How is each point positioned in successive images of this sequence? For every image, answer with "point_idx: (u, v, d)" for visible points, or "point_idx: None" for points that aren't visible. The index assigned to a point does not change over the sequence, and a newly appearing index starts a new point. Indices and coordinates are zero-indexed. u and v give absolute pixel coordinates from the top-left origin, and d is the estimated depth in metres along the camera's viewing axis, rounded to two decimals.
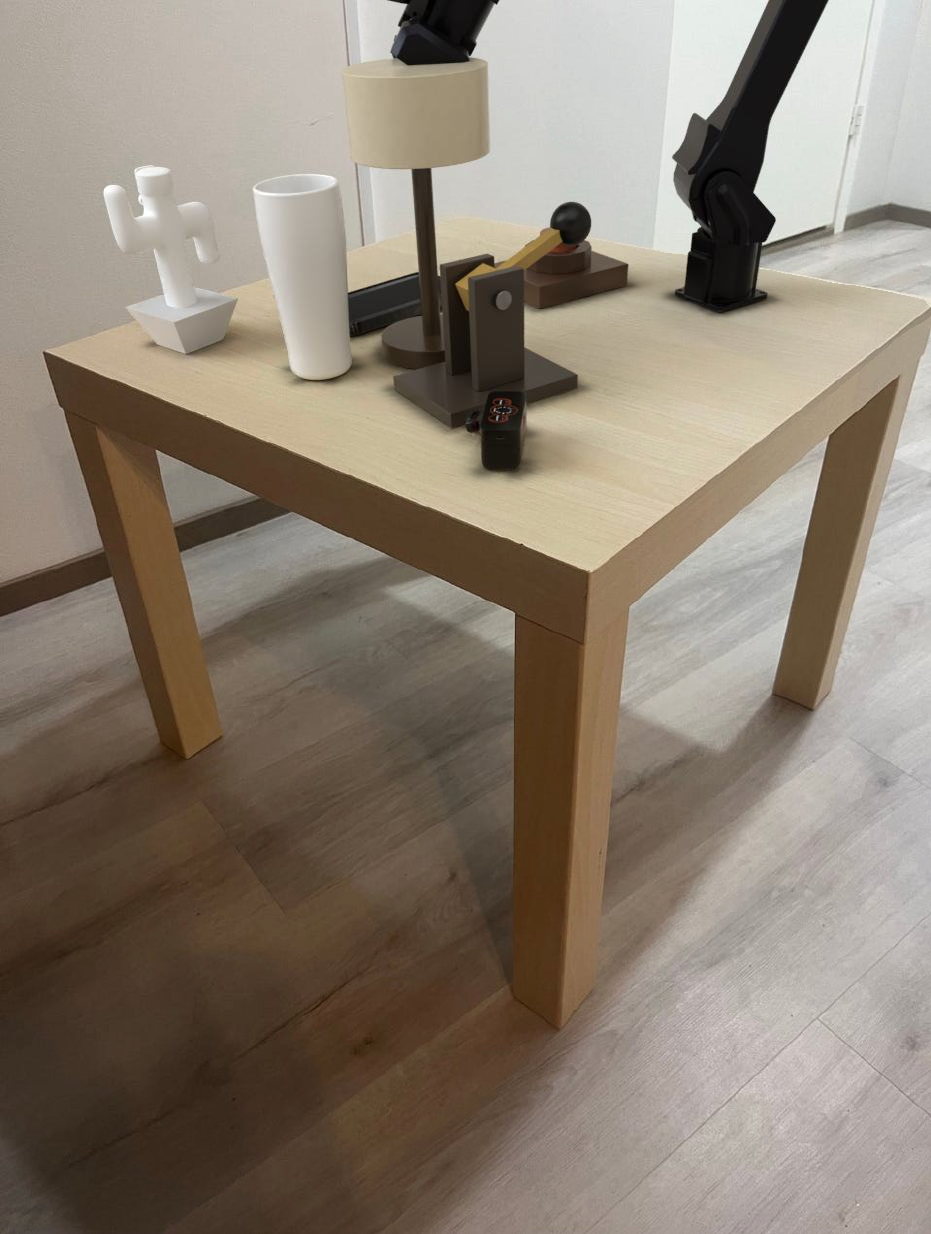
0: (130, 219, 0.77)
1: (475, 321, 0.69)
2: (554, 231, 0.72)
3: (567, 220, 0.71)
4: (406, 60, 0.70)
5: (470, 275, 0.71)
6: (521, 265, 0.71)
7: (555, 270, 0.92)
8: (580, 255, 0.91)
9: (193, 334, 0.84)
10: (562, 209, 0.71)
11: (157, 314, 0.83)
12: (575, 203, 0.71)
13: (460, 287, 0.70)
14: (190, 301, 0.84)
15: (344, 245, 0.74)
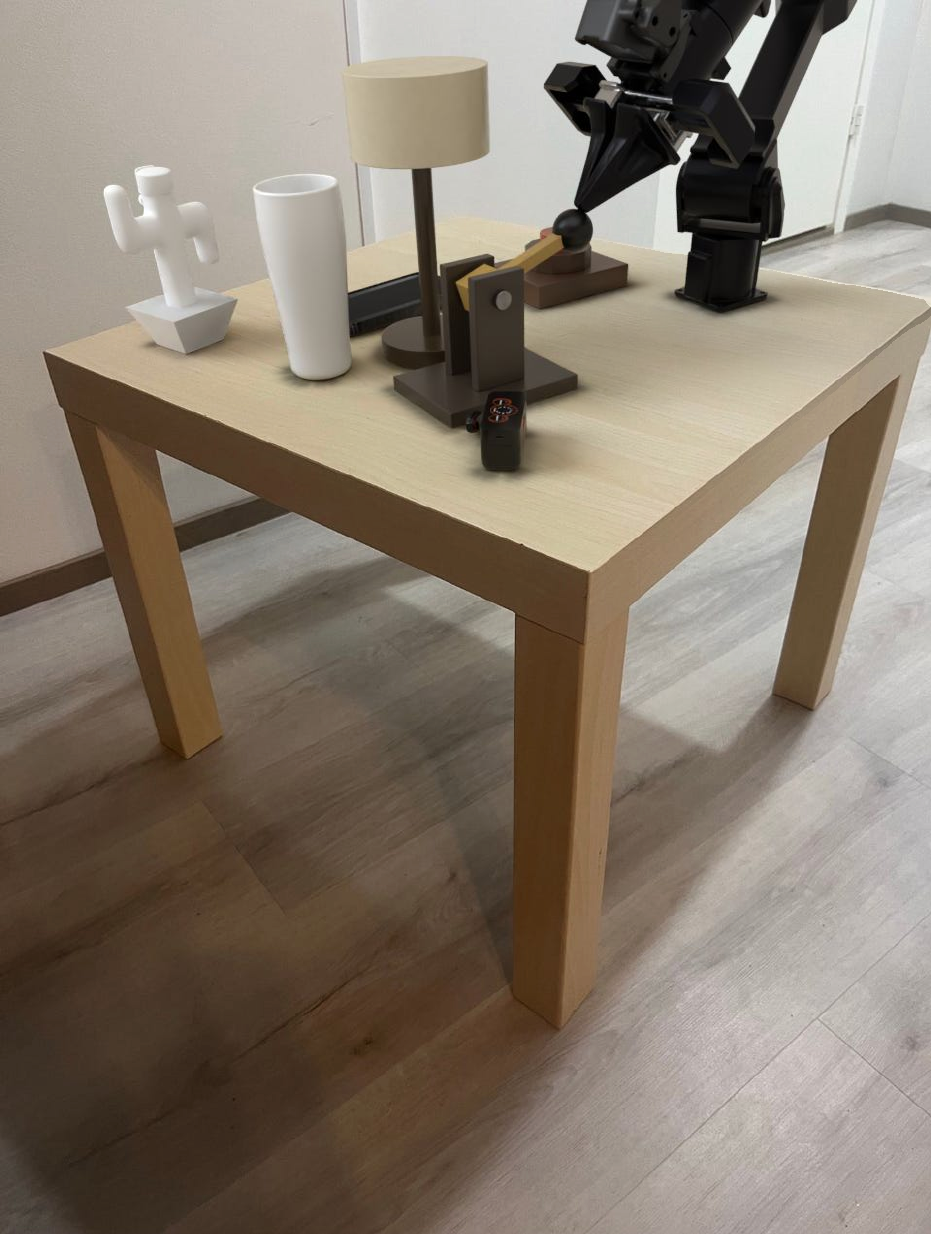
0: (130, 219, 0.77)
1: (475, 321, 0.69)
2: (556, 236, 0.72)
3: (569, 226, 0.71)
4: (714, 120, 0.63)
5: (471, 274, 0.71)
6: None
7: (555, 270, 0.92)
8: (580, 255, 0.91)
9: (193, 334, 0.84)
10: (565, 215, 0.72)
11: (157, 314, 0.83)
12: (578, 210, 0.72)
13: (461, 286, 0.70)
14: (190, 301, 0.84)
15: (344, 245, 0.74)
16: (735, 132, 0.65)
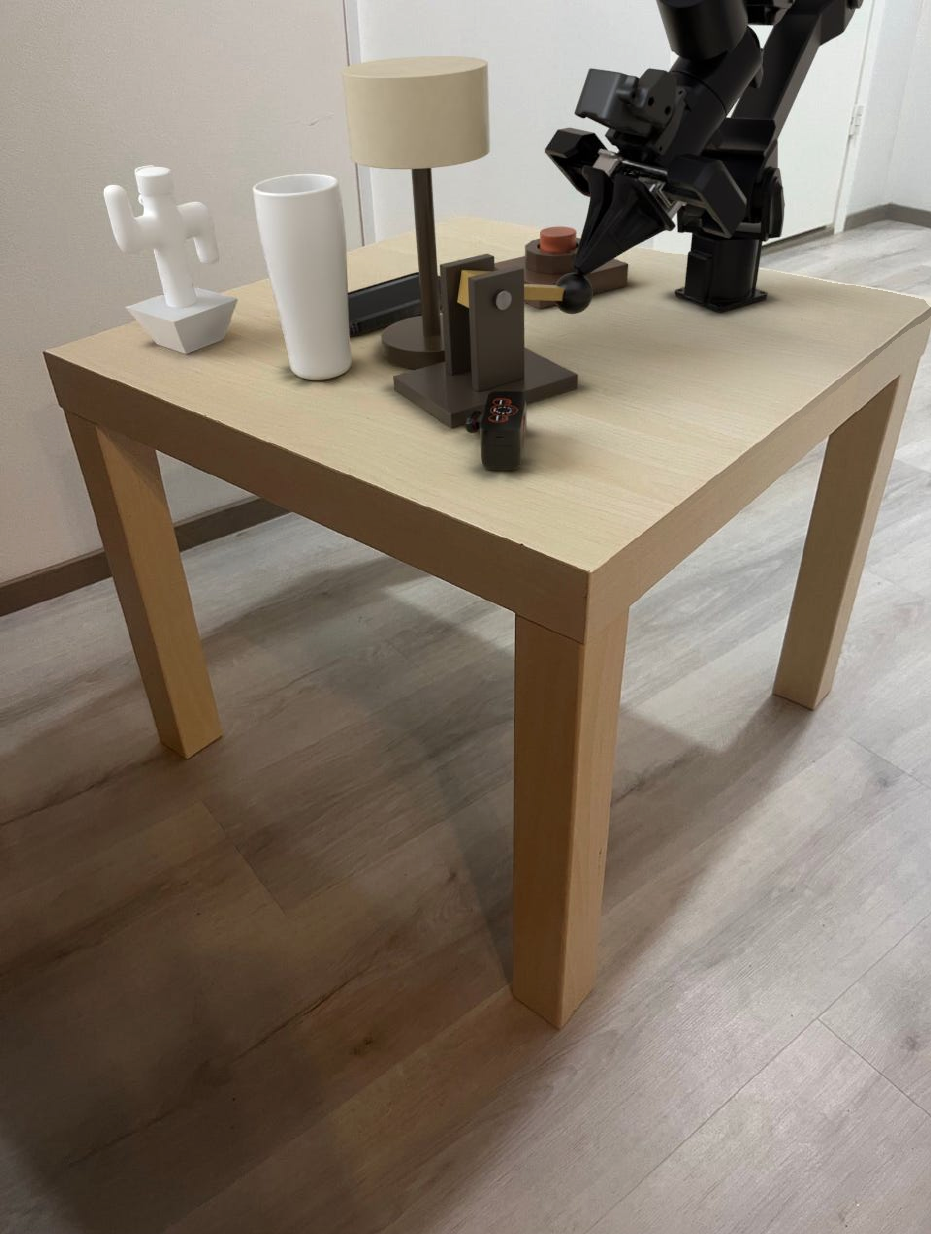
0: (130, 219, 0.77)
1: (475, 321, 0.69)
2: (560, 287, 0.75)
3: (575, 283, 0.74)
4: (707, 196, 0.66)
5: (478, 271, 0.71)
6: None
7: (555, 270, 0.92)
8: None
9: (193, 334, 0.84)
10: (574, 274, 0.75)
11: (157, 314, 0.83)
12: None
13: (467, 274, 0.70)
14: (190, 301, 0.84)
15: (344, 245, 0.74)
16: (727, 206, 0.68)
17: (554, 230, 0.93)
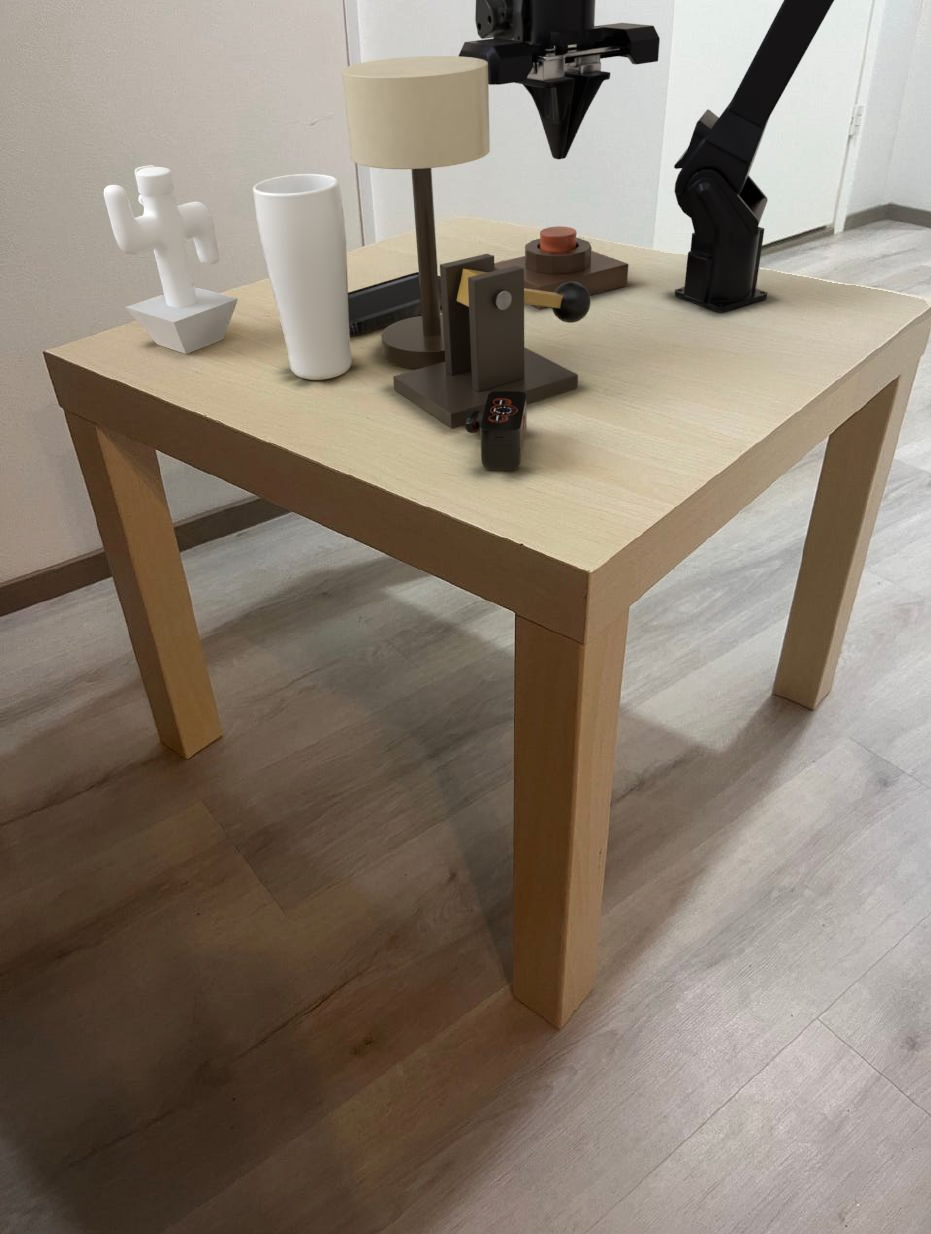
0: (130, 219, 0.77)
1: (475, 321, 0.69)
2: (558, 294, 0.75)
3: (574, 291, 0.75)
4: None
5: (479, 271, 0.71)
6: None
7: (555, 270, 0.92)
8: (580, 255, 0.91)
9: (193, 334, 0.84)
10: (573, 282, 0.75)
11: (157, 314, 0.83)
12: (584, 287, 0.76)
13: (468, 272, 0.70)
14: (190, 301, 0.84)
15: (344, 245, 0.74)
16: None
17: (554, 230, 0.93)
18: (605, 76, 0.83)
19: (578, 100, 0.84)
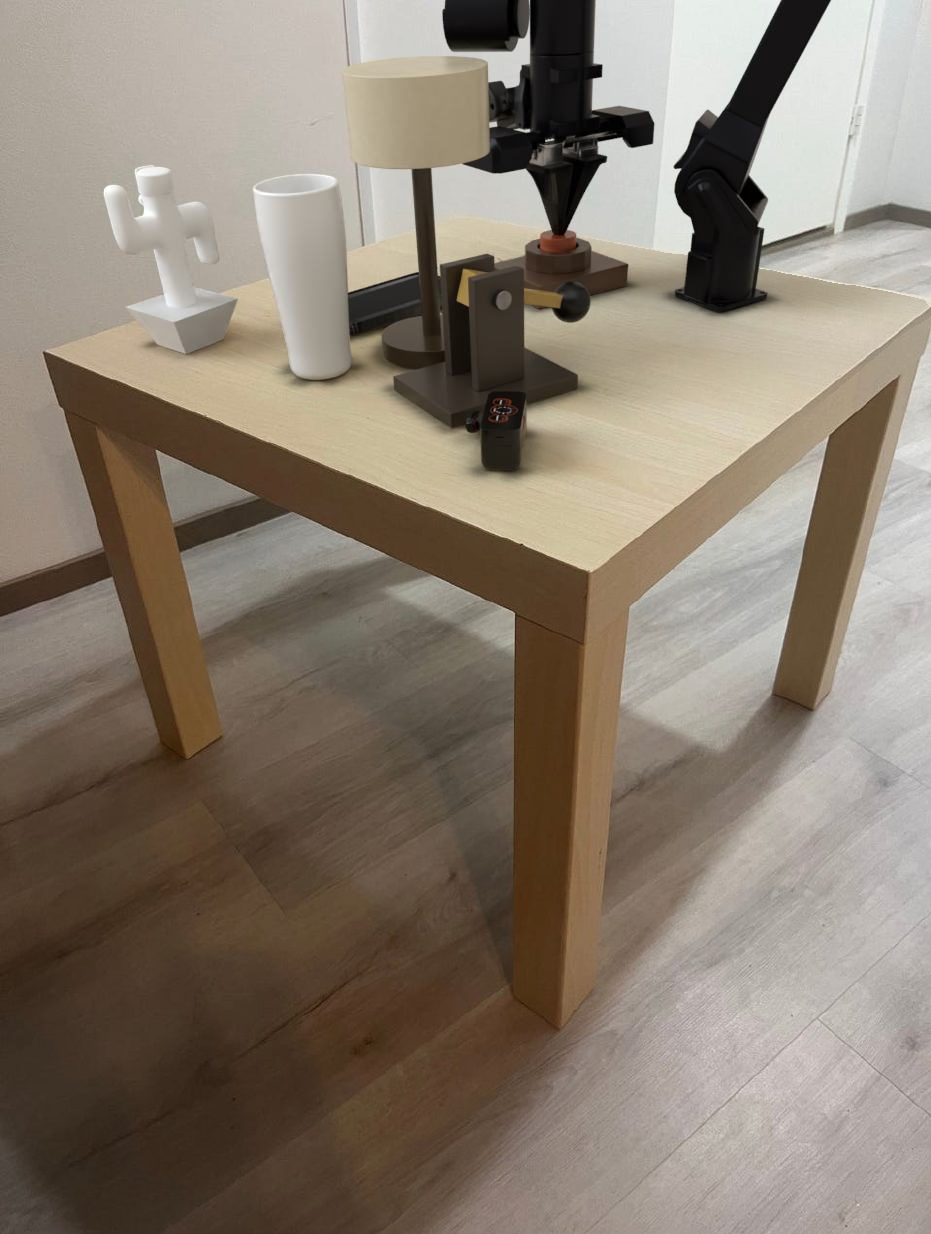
0: (130, 219, 0.77)
1: (475, 321, 0.69)
2: (558, 294, 0.75)
3: (574, 291, 0.75)
4: None
5: (479, 271, 0.71)
6: None
7: (555, 270, 0.92)
8: (580, 255, 0.91)
9: (193, 334, 0.84)
10: (573, 282, 0.75)
11: (157, 314, 0.83)
12: (584, 287, 0.76)
13: (468, 272, 0.70)
14: (190, 301, 0.84)
15: (344, 245, 0.74)
16: None
17: None
18: (602, 160, 0.88)
19: (576, 182, 0.88)
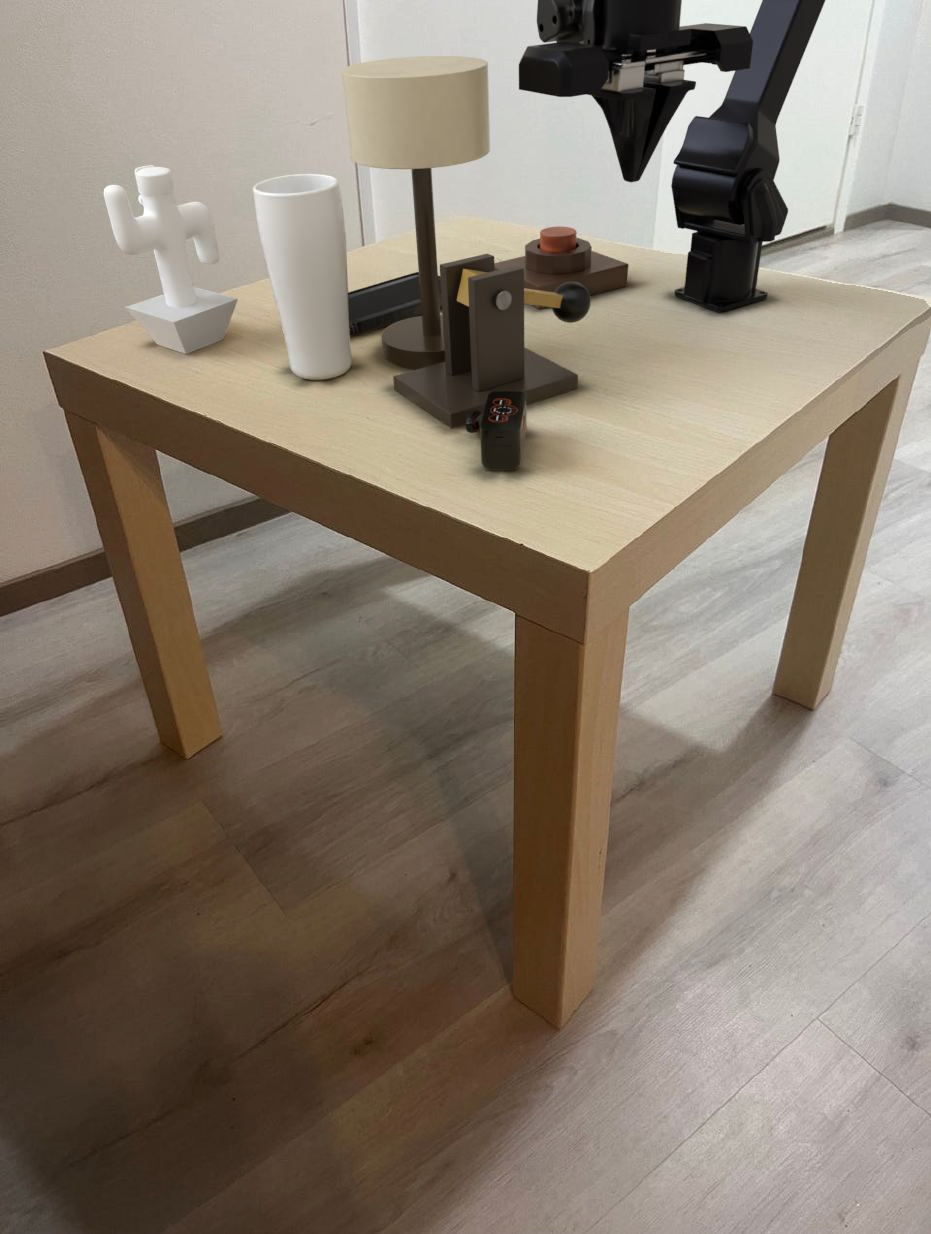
0: (130, 219, 0.77)
1: (475, 321, 0.69)
2: (558, 294, 0.75)
3: (574, 291, 0.75)
4: (524, 86, 0.69)
5: (479, 271, 0.71)
6: None
7: (555, 270, 0.92)
8: (580, 255, 0.91)
9: (193, 334, 0.84)
10: (573, 282, 0.75)
11: (157, 314, 0.83)
12: (584, 287, 0.76)
13: (468, 272, 0.70)
14: (190, 301, 0.84)
15: (344, 245, 0.74)
16: (542, 77, 0.67)
17: (554, 230, 0.93)
18: (690, 86, 0.71)
19: (657, 114, 0.72)
